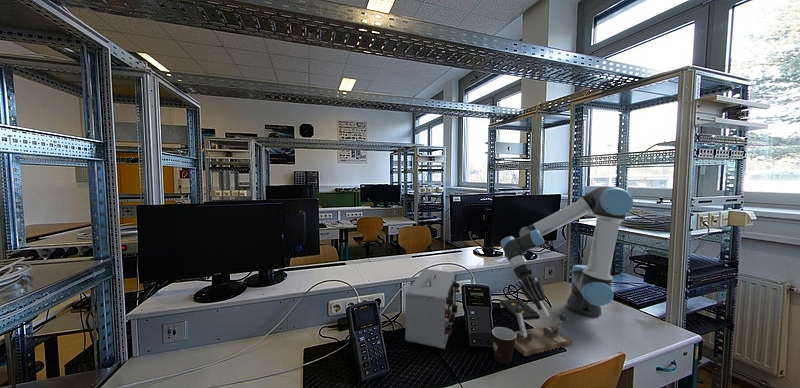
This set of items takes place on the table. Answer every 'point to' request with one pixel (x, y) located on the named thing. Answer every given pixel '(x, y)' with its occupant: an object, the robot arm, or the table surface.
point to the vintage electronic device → (431, 308)
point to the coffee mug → (503, 344)
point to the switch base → (540, 340)
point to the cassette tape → (526, 310)
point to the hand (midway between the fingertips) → (546, 316)
